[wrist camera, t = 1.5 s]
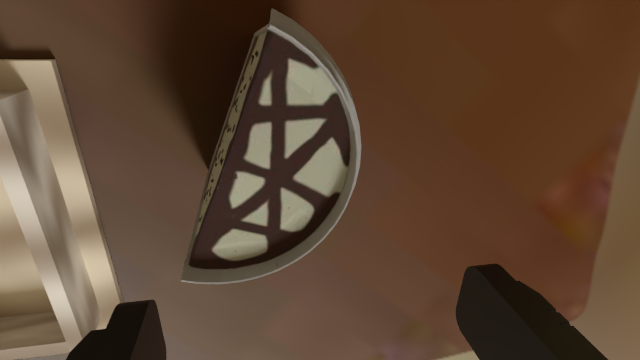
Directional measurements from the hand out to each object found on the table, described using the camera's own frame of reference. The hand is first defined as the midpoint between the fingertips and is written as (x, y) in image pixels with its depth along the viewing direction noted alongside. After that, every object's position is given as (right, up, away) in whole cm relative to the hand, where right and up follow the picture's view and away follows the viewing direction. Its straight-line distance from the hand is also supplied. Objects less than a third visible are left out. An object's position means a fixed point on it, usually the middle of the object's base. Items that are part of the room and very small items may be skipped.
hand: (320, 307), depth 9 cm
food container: (-3, +7, +15) cm, 17 cm away
